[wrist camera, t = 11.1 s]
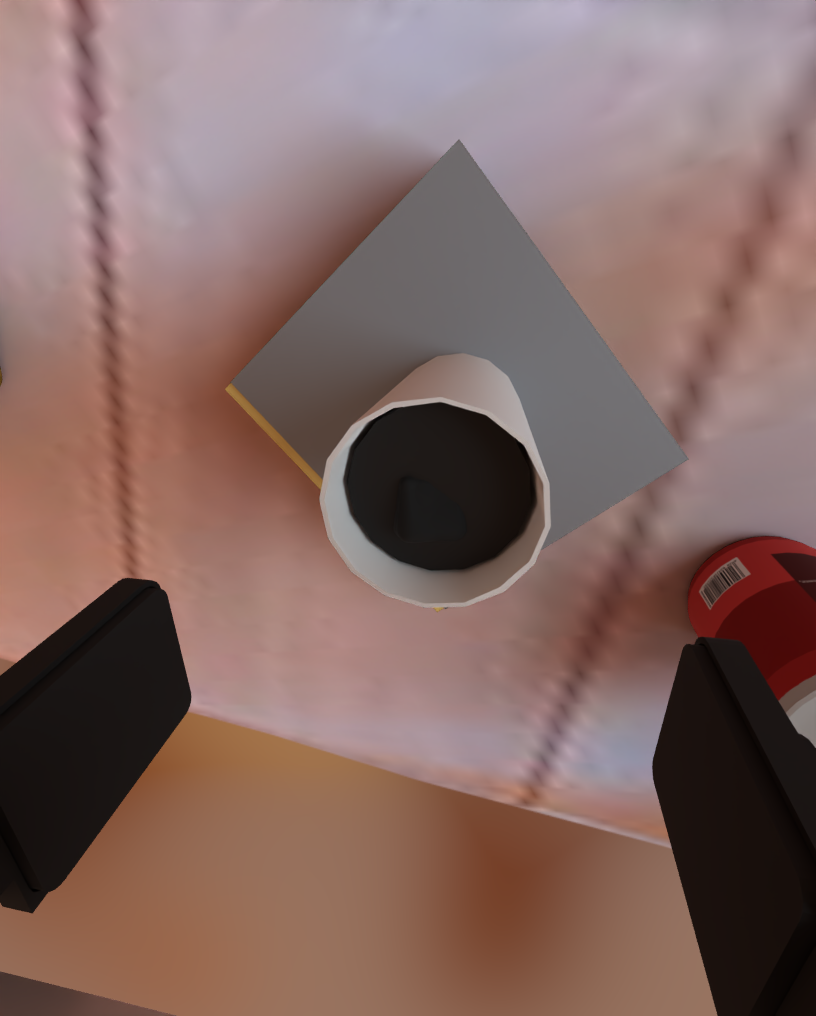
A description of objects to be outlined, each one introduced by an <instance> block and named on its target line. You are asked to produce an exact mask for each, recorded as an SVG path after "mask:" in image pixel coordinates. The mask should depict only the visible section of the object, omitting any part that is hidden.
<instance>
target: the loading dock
mask: <svg viewBox="0 0 816 1016" xmlns="http://www.w3.org/2000/svg"><path fill="white" fill-rule="evenodd" d="M459 353H465V354H469V355H472V356H476V357H479V358H482V359H486V360H489V361H490V362H491V363H492V364H494V365H495V366H496V367H497V368H498V369H500V370H501V371H502V372H503V373H504V374H506V375H507V376H508V377H509V379H510V381H511V383H512V385H513V387H514V389H515V391H516V393H517V395H518V397H519V399H520V402H521V405H522V408H523V410H524V413H525V416H526V419H527V422H528V425H529V427H530V430H531V433H532V436H533V439H534V441H535V444H536V447H537V450H538V453H539V456H540V458H541V461H542V464H543V467H544V470H545V473H546V475H547V478H548V481H549V486H550V517H551V527H550V530H549V532H548V534H547V536H546V539H545V541H544V543H543V546H542V548H541V550H542V549H544V548H545V547H547V546H549V545H550V544H552V543H553V542H555V541H557V540H558V539H560V538H562V537H563V536H565V535H566V534H568V533H570V532H571V531H573V530H575V529H576V528H578V527H579V526H581V525H583V524H584V523H586V522H588V521H589V520H591V519H592V518H594V517H596V516H597V515H599V514H601V513H602V512H604V511H605V510H607V509H609V508H610V507H612V506H614V505H615V504H617V503H618V502H620V501H622V500H623V499H625V498H626V497H628V496H630V495H631V494H633V493H635V492H636V491H638V490H639V489H641V488H643V487H644V486H646V485H648V484H649V483H651V482H652V481H654V480H656V479H657V478H659V477H661V476H662V475H664V474H665V473H667V472H669V471H670V470H672V469H674V468H675V467H677V466H678V465H680V464H682V463H683V462H685V461H687V460H688V457H687V456H686V455H685V453H684V452H683V450H682V449H681V448H680V446H679V445H678V444H677V442H676V441H675V439H674V438H673V437H672V435H671V434H670V432H669V431H668V430H667V428H666V427H665V425H664V424H663V423H662V421H661V420H660V418H659V417H658V416H657V414H656V413H655V411H654V410H653V409H652V407H651V406H650V405H649V403H648V402H647V400H646V399H645V398H644V396H643V395H642V393H641V392H640V391H639V389H638V388H637V386H636V385H635V384H634V382H633V381H632V379H631V378H630V377H629V375H628V374H627V372H626V371H625V370H624V368H623V367H622V365H621V364H620V363H619V361H618V360H617V359H616V357H615V356H614V354H613V353H612V352H611V350H610V349H609V347H608V346H607V345H606V343H605V342H604V340H603V339H602V338H601V336H600V335H599V333H598V332H597V331H596V329H595V328H594V326H593V325H592V324H591V322H590V321H589V320H588V318H587V317H586V315H585V314H584V313H583V311H582V310H581V308H580V307H579V306H578V304H577V303H576V301H575V300H574V299H573V297H572V296H571V294H570V293H569V292H568V290H567V289H566V287H565V286H564V285H563V283H562V282H561V281H560V279H559V278H558V276H557V275H556V274H555V272H554V271H553V269H552V268H551V267H550V265H549V264H548V262H547V261H546V260H545V258H544V257H543V255H542V254H541V253H540V251H539V250H538V248H537V247H536V246H535V244H534V243H533V241H532V240H531V239H530V237H529V236H528V235H527V233H526V232H525V230H524V229H523V228H522V226H521V225H520V223H519V222H518V221H517V219H516V218H515V216H514V215H513V214H512V212H511V211H510V209H509V208H508V207H507V205H506V204H505V202H504V201H503V200H502V198H501V197H500V196H499V194H498V193H497V191H496V190H495V189H494V187H493V186H492V184H491V183H490V182H489V180H488V179H487V177H486V176H485V175H484V173H483V172H482V170H481V169H480V168H479V166H478V165H477V163H476V162H475V161H474V159H473V158H472V157H471V155H470V154H469V152H468V151H467V150H466V148H465V147H464V145H463V144H462V143H461V141H460V140H458V141H457V142H456V143H455V144H454V145H453V146H452V147H451V148H450V149H449V150H448V151H447V152H446V154H445V155H444V156H443V157H442V158H441V159H440V160H439V161H438V162H437V163H436V164H435V165H434V166H433V167H432V168H431V170H430V171H429V172H428V173H427V174H426V175H425V176H424V177H423V178H422V179H421V180H420V181H419V182H418V183H417V184H416V185H415V187H414V188H413V189H412V190H411V191H410V192H409V193H408V194H407V195H406V196H405V197H404V198H403V199H402V200H401V201H400V202H399V204H398V205H397V206H396V207H395V208H394V209H393V210H392V211H391V212H390V213H389V214H388V215H387V216H386V217H385V218H384V219H383V221H382V222H381V223H380V224H379V225H378V226H377V227H376V228H375V229H374V230H373V231H372V232H371V233H370V234H369V235H368V236H367V238H366V239H365V240H364V241H363V242H362V243H361V244H360V245H359V246H358V247H357V248H356V249H355V250H354V251H353V252H352V253H351V255H350V256H349V257H348V258H347V259H346V260H345V261H344V262H343V263H342V264H341V265H340V266H339V267H338V268H337V269H336V270H335V272H334V273H333V274H332V275H331V276H330V277H329V278H328V279H327V280H326V281H325V282H324V283H323V284H322V285H321V286H320V287H319V289H318V290H317V291H316V292H315V293H314V294H313V295H312V296H311V297H310V298H309V299H308V300H307V301H306V302H305V303H304V304H303V306H302V307H301V308H300V309H299V310H298V311H297V312H296V313H295V314H294V315H293V316H292V317H291V318H290V319H289V320H288V322H287V323H286V324H285V325H284V326H283V327H282V328H281V329H280V330H279V331H278V332H277V333H276V334H275V335H274V336H273V337H272V339H271V340H270V341H269V342H268V343H267V344H266V345H265V346H264V347H263V348H262V349H261V350H260V351H259V352H258V353H257V354H256V356H255V357H254V358H253V359H252V360H251V361H250V362H249V363H248V364H247V365H246V366H245V367H244V368H243V369H242V370H241V371H240V373H239V374H238V375H237V376H236V377H235V378H234V379H233V380H232V381H231V383H230V384H229V385H228V386H227V388H226V389H225V390H226V391H227V392H228V393H229V394H230V395H231V396H232V397H233V398H234V399H235V401H236V402H237V403H238V404H239V405H240V406H241V407H242V408H243V409H244V410H245V411H246V412H247V413H248V414H249V415H250V416H251V417H252V418H253V419H254V420H255V422H256V423H257V424H258V425H259V426H260V427H261V428H262V429H263V430H264V431H265V432H266V433H267V434H268V435H269V436H270V437H271V438H272V439H273V440H274V441H275V442H276V444H277V445H278V446H279V447H280V448H281V449H282V450H283V451H284V452H285V453H286V454H287V455H288V456H289V457H290V458H291V459H292V460H293V461H294V462H295V463H296V465H297V466H298V467H299V468H300V469H301V470H302V471H303V472H304V473H305V474H306V475H307V476H308V477H309V478H310V479H311V480H312V481H313V482H314V483H315V484H316V486H317V487H318V488H319V489H320V490H321V487H322V482H323V477H324V472H325V467H326V461H327V459H328V457H329V456H330V455H331V453H332V452H333V450H334V449H335V448H336V446H337V445H338V444H339V442H340V441H341V439H342V438H343V437H344V435H345V434H346V433H347V431H348V430H349V428H350V427H351V426H352V424H354V423H355V422H356V421H357V420H358V419H359V418H360V417H362V416H363V415H364V414H365V413H366V412H367V411H368V410H370V409H371V408H372V407H373V406H374V405H375V404H376V403H377V402H379V401H380V400H381V399H382V398H383V397H384V396H385V395H387V394H388V393H389V392H390V391H391V390H392V389H393V388H395V387H396V386H397V385H398V384H399V383H400V382H401V381H402V380H404V379H405V378H406V377H407V376H408V375H409V374H410V373H412V372H413V371H414V370H415V369H416V368H418V367H420V366H421V365H423V364H425V363H426V362H428V361H430V360H432V359H433V358H435V357H437V356H442V355H451V354H459ZM541 550H540V551H541ZM433 608H434V609H435V610H436V611H437V612H438V611H440V610H442V609H443V608H445V609H446V608H448V607H433Z"/></svg>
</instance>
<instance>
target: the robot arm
mask: <svg viewBox="0 0 816 1016" xmlns="http://www.w3.org/2000/svg"><path fill="white" fill-rule="evenodd" d="M190 703H191V691H190V687H189V682H188V678H187V674H186V670H185V666H184V662H183V658H182V654H181V650H180V645H179V641H178V637H177V633H176V629H175V625H174V621H173V617H172V613H171V608H170V604H169V600H168V596H167V594H166V592H165V591H164V590H162V589H161V588H160V585H159V584H158V583H157V582H155V581H152V580H142V579H132V578H125V579H122V580H120V581H118V582H117V583H116V584H114V585H113V586H112V587H111V588H109V589H108V590H107V591H106V592H104V593H103V594H102V595H101V596H99V597H98V598H97V599H96V600H94V601H93V602H92V603H91V604H89V605H88V606H87V607H86V608H84V609H83V610H82V611H81V612H79V613H78V614H77V615H76V616H74V617H73V618H72V619H71V620H69V621H68V622H67V623H66V624H64V625H63V626H62V627H61V628H59V629H58V630H57V631H56V632H54V633H53V634H52V635H51V636H49V637H48V638H47V639H46V640H44V641H43V642H42V643H41V644H39V645H38V646H37V647H36V648H34V649H33V650H32V651H31V652H29V653H28V654H27V655H26V656H24V657H23V658H22V659H21V660H19V661H18V662H17V663H16V664H14V665H13V666H12V667H11V668H9V669H8V670H7V671H6V672H4V673H3V674H2V675H1V676H0V903H1V905H2V906H3V907H7V908H11V909H16V910H21V911H25V912H29V913H33V912H34V911H35V909H36V908H37V907H38V905H39V904H40V902H41V901H42V900H43V899H44V897H45V896H46V894H47V893H48V892H50V891H53V890H55V889H56V888H57V887H58V886H60V885H61V884H62V882H63V881H64V880H65V879H66V877H67V876H68V874H69V873H70V872H71V871H72V869H73V868H74V867H75V865H76V864H77V862H78V861H79V860H80V858H81V857H82V856H83V854H84V853H85V851H86V850H87V849H88V847H89V846H90V845H91V843H92V842H93V841H94V839H95V838H96V836H97V835H98V834H99V832H100V831H101V829H102V828H103V827H104V825H105V824H106V823H107V821H108V820H109V819H110V817H111V816H112V814H113V813H114V812H115V810H116V809H117V808H118V806H119V805H120V804H121V802H122V801H123V799H124V798H125V797H126V795H127V794H128V793H129V791H130V790H131V789H132V787H133V786H134V784H135V783H136V782H137V780H138V779H139V778H140V776H141V775H142V773H143V772H144V771H145V769H146V768H147V767H148V765H149V764H150V763H151V761H152V760H153V758H154V757H155V756H156V754H157V753H158V752H159V750H160V749H161V747H162V746H163V745H164V743H165V742H166V741H167V739H168V738H169V737H170V735H171V734H172V732H173V731H174V730H175V728H176V727H177V726H178V724H179V723H180V721H181V720H182V719H183V717H184V716H185V714H186V713H187V711H188V709H189V707H190ZM652 769H653V780H654V784H655V788H656V792H657V795H658V799H659V803H660V806H661V810H662V814H663V817H664V821H665V825H666V828H667V832H668V836H669V839H670V843H671V847H672V850H673V854H674V858H675V861H676V865H677V869H678V872H679V876H680V880H681V883H682V887H683V890H684V894H685V898H686V901H687V905H688V908H689V912H690V916H691V919H692V924H693V927H694V930H695V934H696V938H697V942H698V945H699V949H700V953H701V956H702V960H703V964H704V967H705V971H706V975H707V978H708V982H709V985H710V989H711V993H712V996H713V1000H714V1004H715V1007H716V1011H717V1015H718V1016H816V748H815V746H814V745H813V744H812V743H811V741H810V740H809V739H808V738H806V737H805V736H803V735H802V734H798V732H797V730H796V729H795V727H794V726H793V724H792V722H791V721H790V719H789V717H788V716H787V714H786V712H785V711H784V709H783V707H782V706H781V704H780V703H779V701H778V699H777V698H776V696H775V694H774V693H773V691H772V689H771V688H770V686H769V685H768V683H767V681H766V680H765V678H764V676H763V675H762V673H761V671H760V670H759V668H758V667H757V665H756V663H755V662H754V660H753V658H752V657H751V655H750V653H749V652H748V650H747V649H746V647H745V646H744V644H743V643H742V642H741V641H738V640H732V639H722V638H712V637H699V638H698V639H697V640H696V642H695V644H694V645H692V644H686V645H685V646H684V648H683V650H682V654H681V657H680V661H679V665H678V668H677V672H676V676H675V680H674V683H673V687H672V691H671V694H670V698H669V702H668V706H667V709H666V713H665V717H664V720H663V724H662V728H661V731H660V735H659V739H658V743H657V746H656V750H655V754H654V757H653V766H652ZM0 1016H176V1015H171V1014H168V1013H164V1012H159V1011H156V1010H152V1009H148V1008H144V1007H140V1006H136V1005H132V1004H128V1003H124V1002H121V1001H117V1000H112V999H109V998H105V997H101V996H96V995H93V994H88V993H84V992H81V991H76V990H73V989H68V988H64V987H60V986H56V985H52V984H48V983H44V982H40V981H36V980H32V979H28V978H24V977H20V976H16V975H12V974H8V973H4V972H0Z"/></svg>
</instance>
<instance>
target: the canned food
mask: <svg viewBox="0 0 816 1016" xmlns="http://www.w3.org/2000/svg"><path fill="white" fill-rule="evenodd" d="M688 614H689V619H690V622H691V624H692V626H693V628H694V630H695V632H696V634H697V636H698V638H699V637H712V638H722V639H732V640H738V641H741V642H742V643H743V644H744V646H745V647H746V649H747V650H748V652H749V653H750V655H751V657H752V658H753V660H754V662H755V663H756V665H757V667H758V668H759V670H760V671H761V673H762V675H763V676H764V678H765V680H766V681H767V683H768V685H769V686H770V688H771V689H772V691H773V693H774V694H775V696H776V698H777V699H778V701H779V703H780V704H781V706H782V707H783V709H784V711H785V712H786V714H787V716H788V717H789V719H790V721H791V722H792V724H793V726H794V727H795V729H796V730H797V732H798V734H802V735H803V736H805V737H806V738H808V739H809V740H810V741H811V743H812V744H813V745H814V746H815V748H816V549H814V548H812V547H809V546H807V545H805V544H803V543H800V542H797V541H794V540H791V539H786V538H782V537H772V536H763V537H753V538H749V539H745V540H741V541H738V542H735V543H733V544H731V545H728V546H726V547H724V548H723V549H721V550H720V551H718V552H716V553H715V554H713V555H712V556H711V557H710V558H709V559H708V560H706V561H705V562H704V563H703V565H702V566H701V567H700V568H699V569H698V571H697V572H696V574H695V576H694V577H693V579H692V581H691V584H690V587H689V591H688Z"/></svg>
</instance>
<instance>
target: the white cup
mask: <svg viewBox="0 0 816 1016" xmlns="http://www.w3.org/2000/svg"><path fill="white" fill-rule="evenodd" d="M319 501H320V505H321V510H322V514H323V518H324V523H325V527H326V531H327V536H328V539H329V540H330V542H331V543H332V545H333V546H334V548H335V549H336V551H337V552H338V553H339V555H340V556H341V558H342V559H343V561H344V562H345V564H346V565H347V566H348V568H349V569H350V571H351V572H352V573H354V574H355V575H356V576H358V577H359V578H361V579H362V580H363V581H365V582H366V583H368V584H369V585H370V586H372V587H373V588H375V589H376V590H377V591H379V592H380V593H382V594H383V595H384V596H388V597H391V598H394V599H397V600H401V601H404V602H407V603H410V604H414V605H417V606H420V607H423V608H433V607H466V606H469V605H471V604H474V603H477V602H479V601H482V600H485V599H487V598H490V597H492V596H495V595H498V594H500V593H503V592H505V591H506V590H507V589H508V588H509V587H510V586H511V585H512V584H513V583H515V582H516V581H517V580H518V579H519V578H520V577H521V576H522V575H523V574H524V573H525V572H527V571H528V570H529V569H530V568H531V567H532V566H533V565H534V564H535V562H536V559H537V557H538V555H539V553H540V550H541V548H542V546H543V543H544V541H545V539H546V536H547V534H548V532H549V530H550V527H551V517H550V486H549V481H548V478H547V475H546V473H545V470H544V467H543V464H542V461H541V458H540V456H539V453H538V450H537V447H536V444H535V441H534V439H533V436H532V433H531V430H530V427H529V425H528V422H527V419H526V416H525V413H524V410H523V408H522V405H521V402H520V399H519V397H518V395H517V393H516V391H515V389H514V387H513V385H512V383H511V381H510V379H509V377H508V376H507V375H506V374H504V373H503V372H502V371H501V370H500V369H498V368H497V367H496V366H495V365H494V364H492V363H491V362H490V361H489V360H486V359H482V358H479V357H476V356H472V355H469V354H465V353H459V354H451V355H442V356H437V357H435V358H433V359H432V360H430V361H428V362H426V363H425V364H423V365H421V366H420V367H418V368H416V369H415V370H414V371H413V372H412V373H410V374H409V375H408V376H407V377H406V378H405V379H404V380H402V381H401V382H400V383H399V384H398V385H397V386H396V387H395V388H393V389H392V390H391V391H390V392H389V393H388V394H387V395H385V396H384V397H383V398H382V399H381V400H380V401H379V402H377V403H376V404H375V405H374V406H373V407H372V408H371V409H370V410H368V411H367V412H366V413H365V414H364V415H363V416H362V417H360V418H359V419H358V420H357V421H356V422H355V423H354V424H352V426H351V427H350V428H349V430H348V431H347V433H346V434H345V435H344V437H343V438H342V439H341V441H340V442H339V444H338V445H337V446H336V448H335V449H334V450H333V452H332V453H331V455H330V456H329V457H328V459H327V461H326V467H325V472H324V477H323V482H322V487H321V493H320V498H319Z"/></svg>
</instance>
